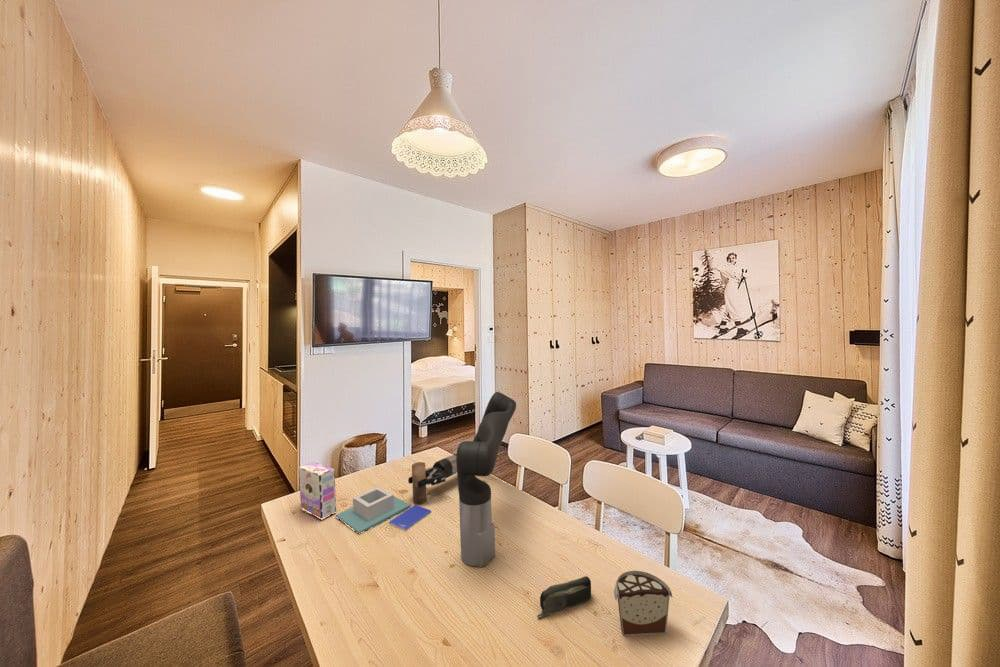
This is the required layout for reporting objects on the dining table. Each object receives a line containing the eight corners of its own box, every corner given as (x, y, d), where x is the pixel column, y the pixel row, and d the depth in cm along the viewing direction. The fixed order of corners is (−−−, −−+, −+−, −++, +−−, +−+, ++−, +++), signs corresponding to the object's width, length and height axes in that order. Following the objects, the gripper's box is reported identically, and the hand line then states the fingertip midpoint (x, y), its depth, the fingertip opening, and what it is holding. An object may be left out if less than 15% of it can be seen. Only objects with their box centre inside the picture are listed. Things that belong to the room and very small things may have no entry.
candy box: (337, 513, 122) (335, 468, 122) (321, 521, 117) (319, 475, 117) (315, 503, 130) (313, 460, 129) (300, 510, 125) (298, 466, 124)
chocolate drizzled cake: (658, 609, 79) (658, 567, 79) (672, 633, 73) (672, 588, 73) (606, 611, 79) (605, 570, 78) (616, 636, 72) (615, 591, 72)
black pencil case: (586, 572, 85) (533, 590, 79) (593, 580, 82) (539, 600, 76) (586, 592, 85) (533, 611, 79) (593, 600, 82) (539, 622, 76)
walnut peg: (429, 500, 130) (427, 464, 129) (418, 505, 126) (417, 469, 125) (421, 496, 133) (419, 461, 132) (410, 501, 129) (408, 465, 128)
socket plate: (410, 507, 125) (410, 491, 125) (359, 534, 109) (358, 516, 109) (386, 494, 135) (385, 479, 135) (335, 517, 119) (334, 501, 119)
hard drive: (405, 528, 111) (431, 510, 121) (388, 521, 115) (414, 504, 125) (405, 533, 111) (431, 514, 121) (388, 526, 115) (414, 508, 125)
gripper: (435, 454, 145) (401, 468, 131) (459, 462, 136) (425, 478, 122) (436, 471, 145) (402, 487, 132) (459, 480, 136) (426, 498, 123)
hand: (413, 483), depth 127 cm, fingers closed on walnut peg, 5 cm apart
